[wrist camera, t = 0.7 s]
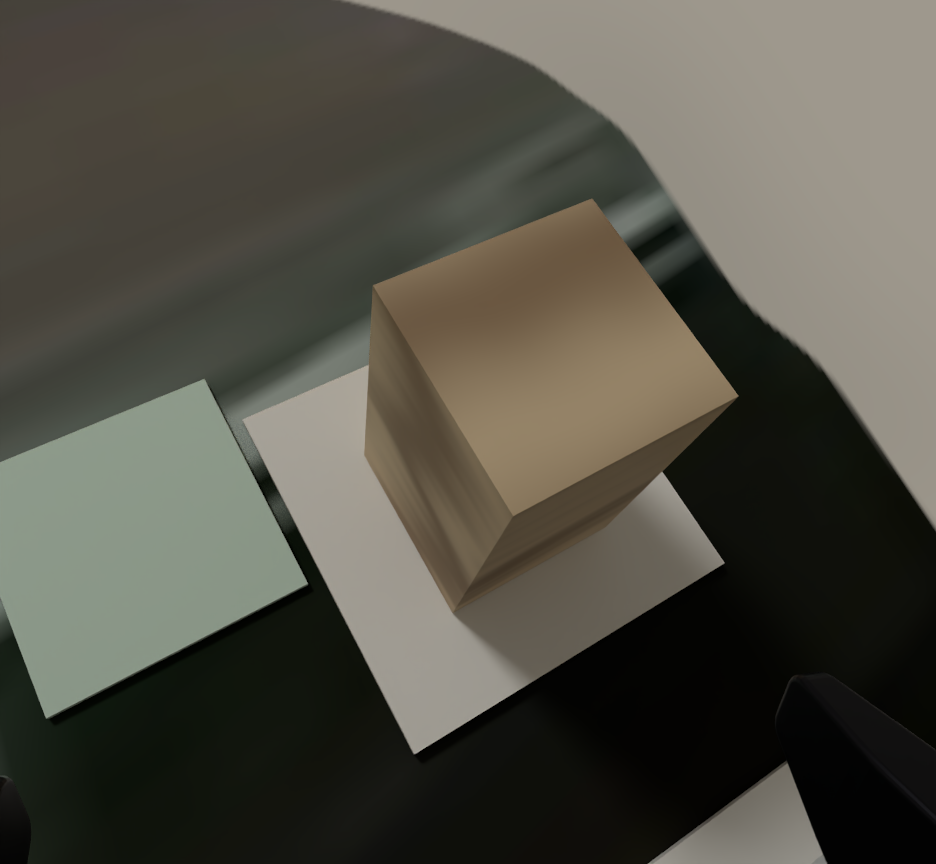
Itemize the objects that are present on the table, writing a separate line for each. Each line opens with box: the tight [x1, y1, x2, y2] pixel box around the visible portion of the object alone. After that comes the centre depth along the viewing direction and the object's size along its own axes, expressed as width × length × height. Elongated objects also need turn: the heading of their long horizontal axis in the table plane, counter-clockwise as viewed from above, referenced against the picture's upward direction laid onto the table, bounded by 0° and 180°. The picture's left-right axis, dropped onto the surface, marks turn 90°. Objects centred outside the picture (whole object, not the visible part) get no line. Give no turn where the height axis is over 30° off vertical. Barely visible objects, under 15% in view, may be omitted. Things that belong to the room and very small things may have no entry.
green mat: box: [0, 379, 308, 719], centre depth 25 cm, size 8×8×1 cm
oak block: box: [364, 199, 738, 613], centre depth 22 cm, size 6×6×10 cm
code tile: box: [242, 365, 724, 754], centre depth 27 cm, size 12×12×1 cm
